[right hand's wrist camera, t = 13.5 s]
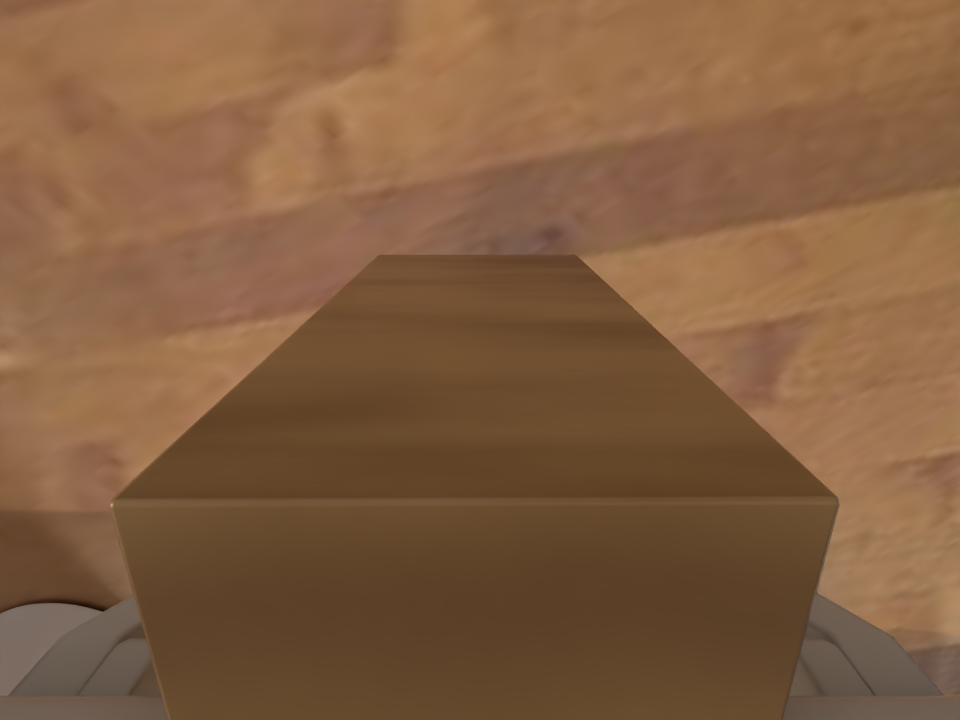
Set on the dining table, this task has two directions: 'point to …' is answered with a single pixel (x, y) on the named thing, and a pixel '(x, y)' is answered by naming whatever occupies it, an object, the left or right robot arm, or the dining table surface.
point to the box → (475, 517)
